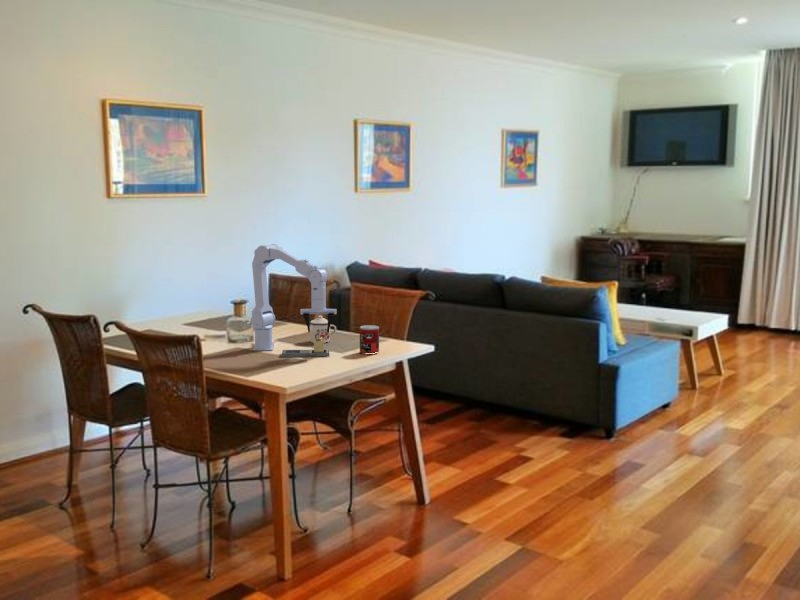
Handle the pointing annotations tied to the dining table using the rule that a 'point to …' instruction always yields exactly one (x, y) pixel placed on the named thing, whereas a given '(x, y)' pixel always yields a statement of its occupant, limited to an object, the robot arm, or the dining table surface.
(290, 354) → the plate with square holes
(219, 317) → the dining table surface
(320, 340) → the cube with round knob
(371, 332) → the canned food
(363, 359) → the dining table surface
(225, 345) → the dining table surface
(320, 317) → the teacup with lid
